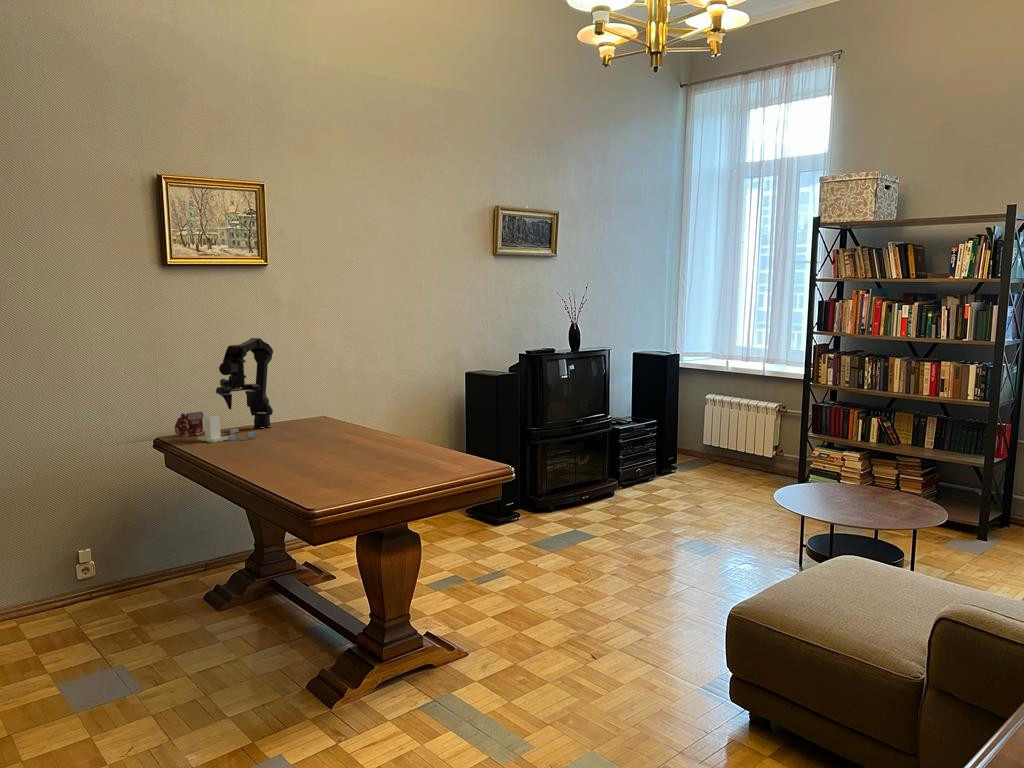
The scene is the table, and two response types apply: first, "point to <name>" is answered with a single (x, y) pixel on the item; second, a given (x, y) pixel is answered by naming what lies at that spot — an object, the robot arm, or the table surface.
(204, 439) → the sage bay
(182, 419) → the toy fire truck
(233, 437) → the channel
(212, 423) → the ivory block
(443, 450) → the table surface
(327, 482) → the table surface
